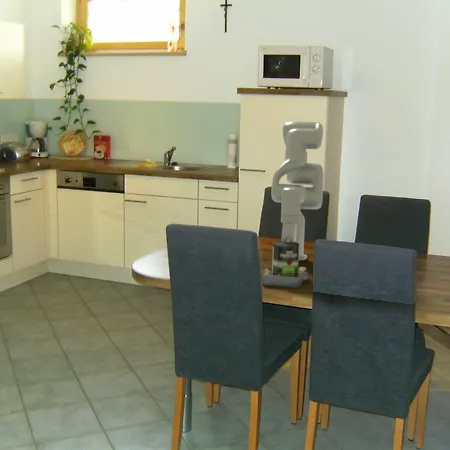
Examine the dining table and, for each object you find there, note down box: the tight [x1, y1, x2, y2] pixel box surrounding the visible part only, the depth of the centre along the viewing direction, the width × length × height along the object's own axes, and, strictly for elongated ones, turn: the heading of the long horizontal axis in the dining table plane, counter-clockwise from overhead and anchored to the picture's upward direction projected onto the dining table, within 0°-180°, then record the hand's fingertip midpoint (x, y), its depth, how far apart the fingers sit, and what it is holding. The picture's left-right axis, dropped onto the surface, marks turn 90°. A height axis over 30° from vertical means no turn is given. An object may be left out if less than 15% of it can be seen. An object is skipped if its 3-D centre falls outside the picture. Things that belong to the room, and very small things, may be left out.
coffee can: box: [271, 240, 299, 277], centre depth 269 cm, size 10×10×14 cm
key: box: [298, 266, 307, 275], centre depth 280 cm, size 7×3×1 cm, turn 166°
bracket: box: [261, 268, 308, 289], centre depth 265 cm, size 13×17×4 cm
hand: (288, 263), depth 277 cm, fingers closed
